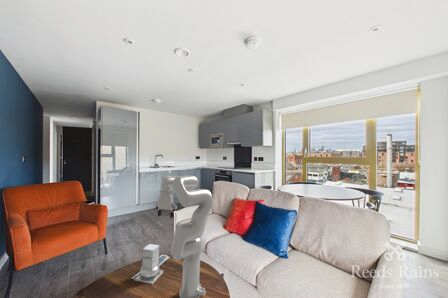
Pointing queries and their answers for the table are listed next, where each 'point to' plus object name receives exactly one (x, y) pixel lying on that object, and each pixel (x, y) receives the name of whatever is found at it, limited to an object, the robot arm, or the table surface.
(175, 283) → the table surface
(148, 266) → the supplement box
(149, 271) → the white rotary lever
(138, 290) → the table surface
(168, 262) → the table surface
